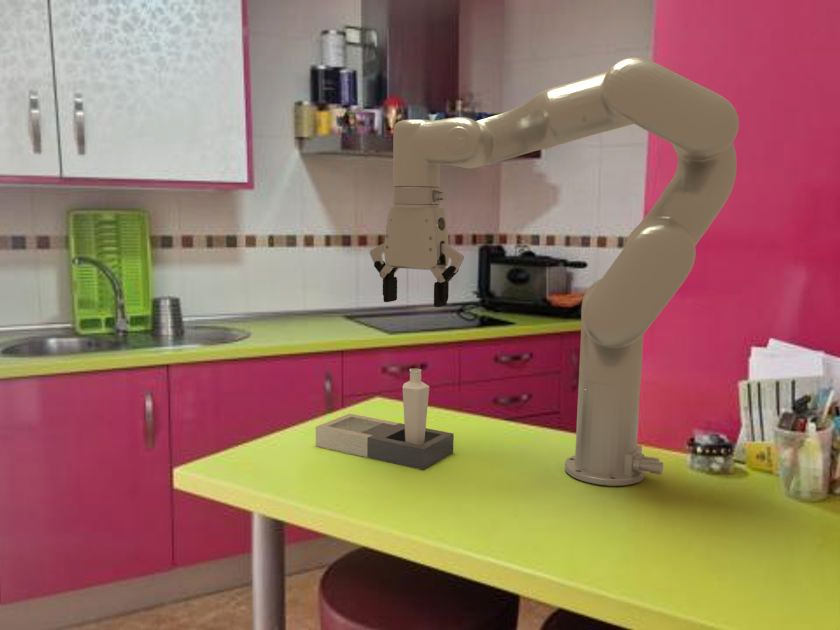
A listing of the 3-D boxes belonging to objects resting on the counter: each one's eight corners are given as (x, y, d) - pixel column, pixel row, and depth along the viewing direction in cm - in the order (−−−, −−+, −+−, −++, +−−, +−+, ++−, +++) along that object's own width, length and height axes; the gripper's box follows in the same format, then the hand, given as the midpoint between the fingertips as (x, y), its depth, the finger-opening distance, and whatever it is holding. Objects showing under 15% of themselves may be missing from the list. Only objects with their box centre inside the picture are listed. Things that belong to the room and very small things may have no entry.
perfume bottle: (412, 449, 134) (413, 365, 132) (431, 455, 131) (433, 369, 129) (394, 456, 131) (395, 369, 128) (414, 462, 128) (415, 373, 126)
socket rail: (453, 453, 133) (453, 433, 132) (423, 470, 124) (423, 449, 124) (349, 431, 144) (349, 413, 143) (315, 446, 135) (315, 426, 135)
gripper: (474, 199, 123) (472, 305, 126) (384, 198, 132) (383, 297, 135) (451, 199, 117) (449, 311, 120) (358, 197, 126) (358, 302, 128)
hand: (414, 303), depth 127 cm, fingers open, 9 cm apart
